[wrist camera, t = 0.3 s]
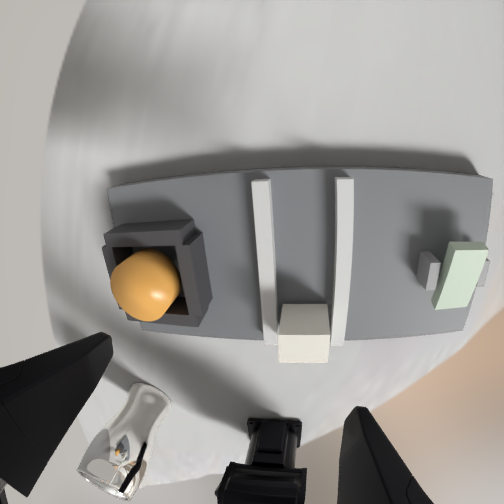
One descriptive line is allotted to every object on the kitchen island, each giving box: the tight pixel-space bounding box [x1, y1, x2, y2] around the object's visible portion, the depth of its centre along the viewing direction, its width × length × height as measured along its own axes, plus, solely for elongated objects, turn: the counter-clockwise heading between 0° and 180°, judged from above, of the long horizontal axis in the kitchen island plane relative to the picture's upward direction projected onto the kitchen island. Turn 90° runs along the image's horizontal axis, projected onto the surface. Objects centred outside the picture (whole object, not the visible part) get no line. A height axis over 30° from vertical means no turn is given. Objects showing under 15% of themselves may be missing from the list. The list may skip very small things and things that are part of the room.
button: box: [110, 248, 181, 321], centre depth 18 cm, size 4×4×2 cm
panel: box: [102, 166, 493, 346], centre depth 19 cm, size 13×29×4 cm, turn 95°
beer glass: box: [77, 383, 172, 501], centre depth 25 cm, size 7×7×15 cm
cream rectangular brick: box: [278, 304, 330, 363], centre depth 19 cm, size 2×3×4 cm
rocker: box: [431, 242, 489, 310], centre depth 15 cm, size 5×3×1 cm, turn 5°
